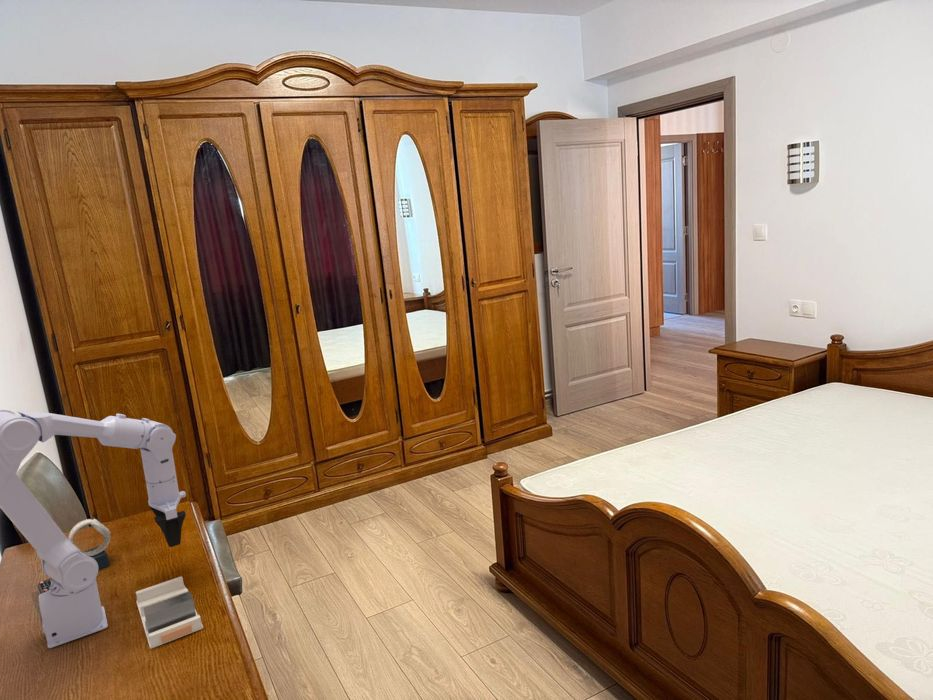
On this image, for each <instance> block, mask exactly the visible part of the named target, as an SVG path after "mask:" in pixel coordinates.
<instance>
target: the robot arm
mask: <svg viewBox="0 0 933 700" xmlns="http://www.w3.org/2000/svg"><path fill="white" fill-rule="evenodd" d="M16 413H18V414H19V415H18V414H16ZM16 413H15V412H13V411H11V410H7V409H0V509H1V510H2V512H3V513H4V514H5V516H6V517H7V518H8V519H9V520H10V521H11V522H12V524H13V525H14V526H15V527H16V529H17V531H19V532H20V534H22V536H23V537H24V538H25V539H26V540H27V542H28V543H29V544H30V545H31V547H33V549H34V550H35V552H36V556H37V557H38V558H39V559H40V562H41V570H42V572H43V573H44V574H45V576H47V577H48V578H50V579H51V582H50V587H49V589H48V590H47V591H46V590H45V591H44V592H42V593H40V594H39V595H38V605H39V611H40V616H41V620H42V623H41V625H42V631H43V634H45V638H46V643H47V648H48V649H52V648H56V647H58V646H60V645H64V644H66V643H69V642H71V641H74V640H77V639H81V638H83V637H85V636H88V635H91V634H94V633H96V632H100V631H103V630H105V629H107V628H108V627H109V624H108V620H107V616H106V610H105V606H103V605H102V603H101V599H100V598H101V597H100V592H99V589H98V588H99V587H98V584H97V576H98V573H99V571H98V564H97V562H96V560H94V559H93V558H91V557H89V556H87V555H85V554H83V553H82V552H80V550H81V549H80V548H79V549H80V550H79V549H78V547H77V545H76V544H75V543H74V544H75V545H76V546H75V545H74V544H73V543H72V542H71V541H70V540H69V539H68V537H67V536H66V535H65V533H64V532H63V531H62V530H61V528H60V527H59V526H58V525H57V523H56V522H55V520H53V519H52V517H51V516H50V514H49V513H48V512H47V510H46V509H44V507H43V506H42V504H41V503H40V502H39V501H38V499H37V498H36V497H35V496H34V495H33V493H32V491H30V489H29V488H28V487H27V486H26V484H25V483H24V482H23V480H21V478H20V477H19V476H18V474H17V473H18V470H19V467H20V466H21V463H22V462H23V460H24V459H25V458H26V457H27V456H28V455H29V454H30V452H31V451H32V450H33V449H34V448H35V446H36V445H37V444H38V442H41V443H45V442H47V441H49V439H51V438H52V437H54V436H56V435H57V436H66V437H67V436H68V437H82V438H83V437H84V438H95V439H97V440H98V442H99V443H100V444H101V445H102V446H105V447H107V446H108V447H115V448H125V449H126V448H127V449H134V450H135V449H136V450H137V449H140V455H141V461H142V462H141V463H142V469H143V473H144V479H145V486H146V490H147V492H146V493H147V496H148V497H147V498H148V501H147V505H148V507H149V508H150V509H151V511H152V512H153V514H154V515H155V517H153V519H154V522H155V523H156V525H158V527H160V531H161V532H162V534H163V536H164V538H165V541H166V544H167V546H168V547H169V548H172V547H175V546H179V545H181V540H182V530H183V529H182V528H183V523H184V521H185V519H186V514H187V512H186V511H185V510H182V511H177V508H178V506H179V503H180V501H181V499H183V498H185V497H186V496H187V494H186V491H184V490H181V491H179V489H180V488H179V485H178V478H177V472H176V465H175V459H174V452H173V446H174V445H175V442H176V439H177V433H174V431H173V429H172V428H171V427H170V426H169V425H167V424H165V423H162V422H157V421H154V420H151V419H149V418H145V417H142V418H141V419H135V418H131V417H127V415H125V414H122V413H116V414H115V415H114V416H113V415H108V416H106V417H105V418H102V420H95V419H88V418H81V417H76V416H69V415H64V414H57V413H50V412H43V411H33V410H32V411H31V410H16Z"/></svg>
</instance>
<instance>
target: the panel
mask: <svg viewBox="0 0 933 700" xmlns="http://www.w3.org/2000/svg"><path fill="white" fill-rule="evenodd" d="M194 600H195V599H194V597H193V595H192V593H191V591H189V590H188V592H186V593H183V594H180V595H178V596H175V597H172V598H169V599H166V600H164V601H161V602H158V603H155V604H152V605H150V606H147V607H144V608H143V609H144V615H145V620H146V626H147V631H148V635H149V634H150V633H152V632H155V631H157V630H160V629H163V628H165V627H168V626H171V625H173V624H176V623H179V622H181V621H184V620H187V619H189V618H192V617H194V616H196V613H195V610H196V608H195V607H196V606H195V601H194Z"/></svg>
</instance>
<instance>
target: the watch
mask: <svg viewBox="0 0 933 700" xmlns="http://www.w3.org/2000/svg"><path fill="white" fill-rule="evenodd" d="M87 525H90V526H91V527H93V529H95V530H96V531H97V532H98V533H99V534H100V535H101V536H103V537H104V538H103V539H104V540H103V541H102V543H101V544H100V545H98V546H95V547H92V548H90V549H87V550H85V551H84V550H83V549H80V548H78V547H77V545H76V544H75V542H74V541H73V539H74V536H75V534H76V533H77V532H78V531H79V530H80V529H81V528H83V527H85V526H87ZM71 528H72V529H70V531H69V533H68V537H67V538H68V539H69V540H70V541H71V542H72V543H73V544H74V545H75V546H76V547H77V548H78V549H79V550H80V552H82V553H83V554H85V555H87V556H89V557H91V558H93V559H94V560H96V562H97V564H98V572H99V571H101V570H104V569H106V568H109V567H110V566H111V565H110V561H109V556H108V553H107V552H106V551H105V549H106V548H107V547H108V545H109V543H110V541H111V534H112V532H111V531H110V530H109V528H108V527H106V526H105V525H104V524H103V523H101V522H100V521H99V520H98V519H96V518H93V519H91V518H88V519H87V518H86V519H83V520H82V521H79V522H76V524H75V525H74V526H73V527H71Z"/></svg>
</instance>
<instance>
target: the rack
mask: <svg viewBox="0 0 933 700" xmlns="http://www.w3.org/2000/svg"><path fill="white" fill-rule="evenodd" d="M186 592H189V589H188V588H187V587H186V586H185V584H184V578H183V576H182V575H180V576H178V577H174V578H171V579H169V580H166V581H163V582H160V583H158V584H155V585H152V586H149V587H146V588H142V589H140V590H137V591H135V594H136V605H137V609H138V612H139V616H140V619H141V623H142V626H143V630H144V632H145V633H144V634H145V636H146V640H147V642H148V646H149V650H152V649H154V648H157V647H159V646H161V645H165V644H167V643H169V642H172V641H175V640H177V639H180V638H183V637H184V636H188V635H189V634H192V633H194V632H195V633H196V632H199V631H200V630H202V629H204V625H203V623H202V619H201V618H202V617H201V615H200V614H198V612H197V610H196V609H195V613H196V616H194V617H192V618H189V619H187V620H184V621H181V622H179V623H176V624H173V625H171V626H168V627H165V628H163V629H160V630H157V631H155V632H152V633H150V634H149V635H148V631H147V626H146V620H145V615H144V609H143V608H144V607H147V606H150V605H152V604H155V603H158V602H161V601H164V600H166V599H169V598H172V597H175V596H178V595H180V594H183V593H186Z"/></svg>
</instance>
